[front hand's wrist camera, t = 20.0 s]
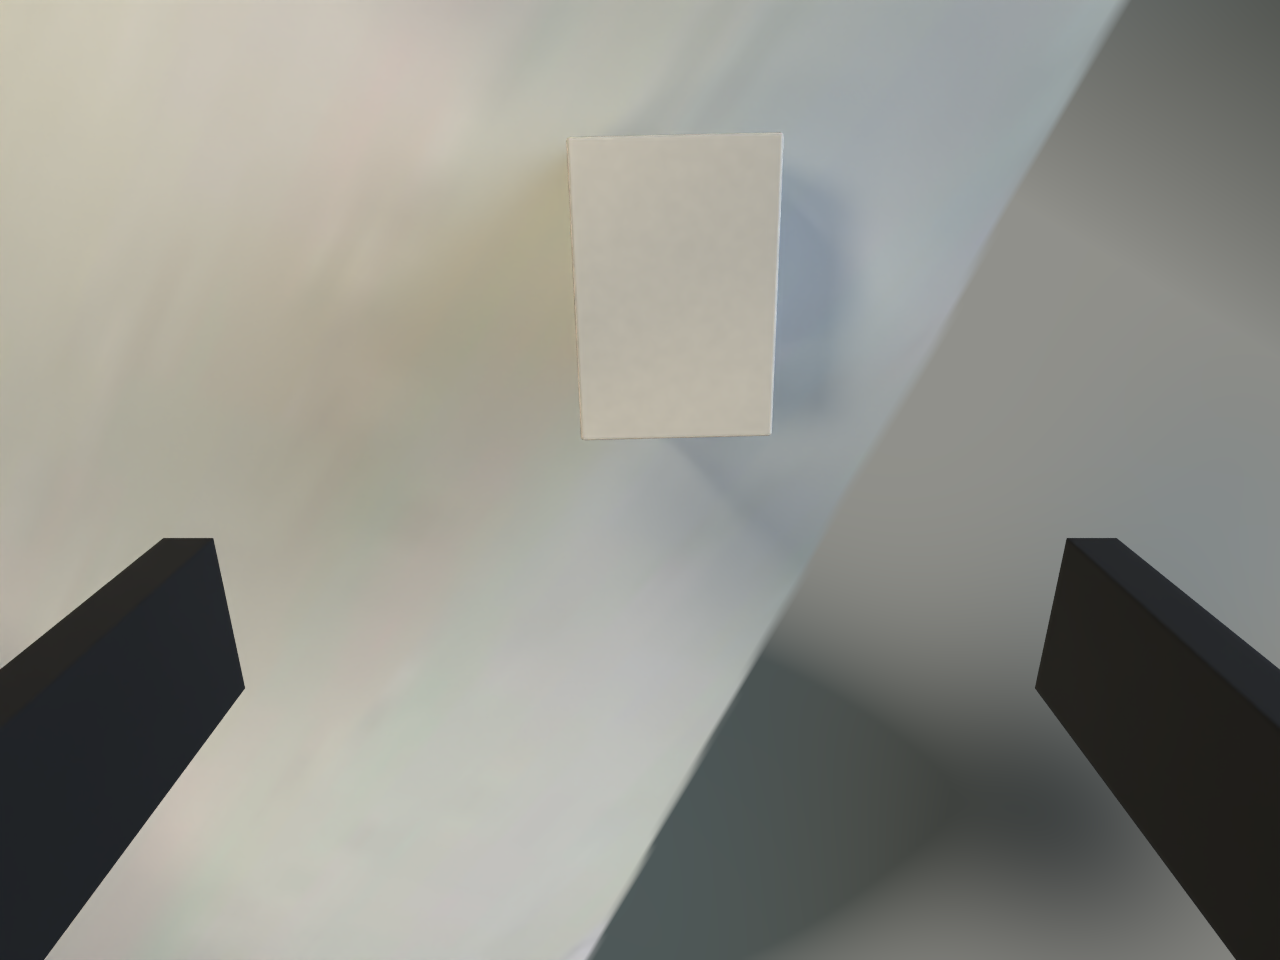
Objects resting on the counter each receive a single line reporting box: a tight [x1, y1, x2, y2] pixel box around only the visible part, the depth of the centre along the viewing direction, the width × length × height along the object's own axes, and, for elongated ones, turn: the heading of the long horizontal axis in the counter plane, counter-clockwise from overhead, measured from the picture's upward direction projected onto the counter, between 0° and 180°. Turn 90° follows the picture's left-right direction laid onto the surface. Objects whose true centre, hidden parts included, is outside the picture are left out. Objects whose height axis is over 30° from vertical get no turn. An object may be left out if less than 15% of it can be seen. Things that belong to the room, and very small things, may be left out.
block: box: [566, 132, 784, 440], centre depth 25 cm, size 5×8×9 cm
